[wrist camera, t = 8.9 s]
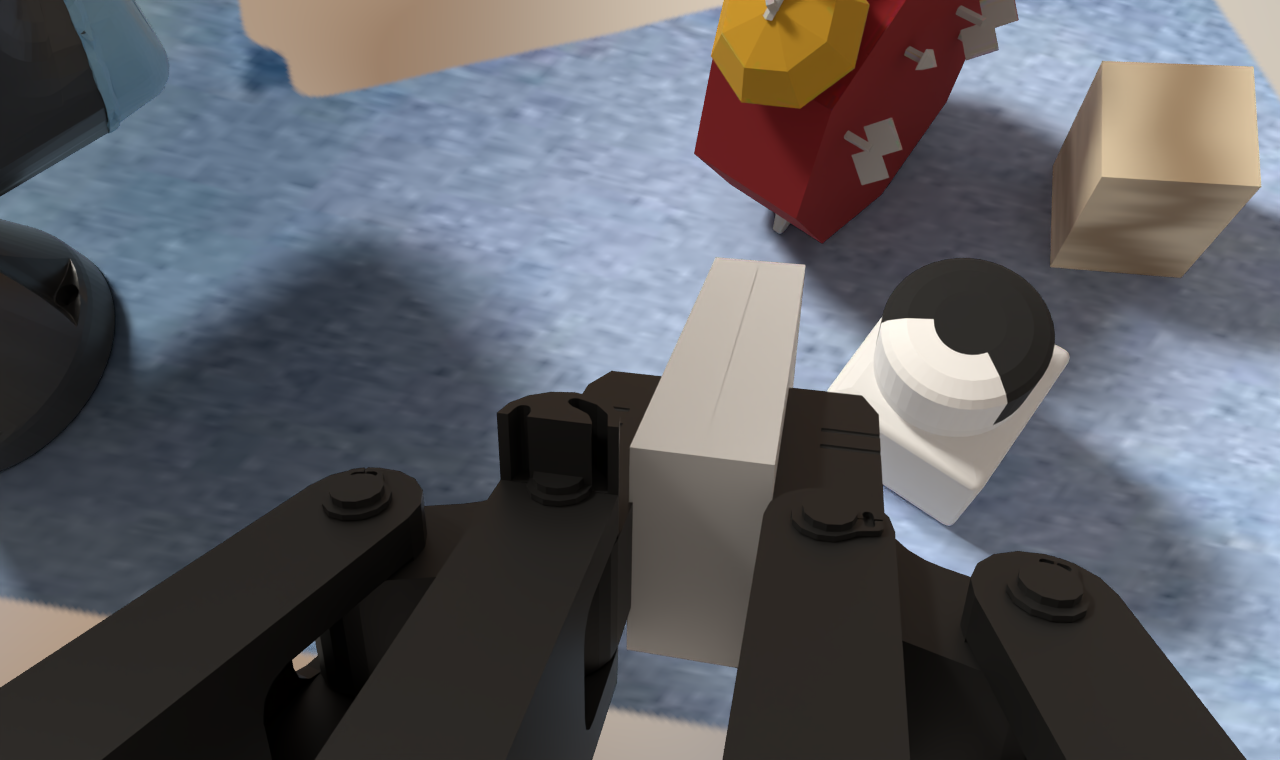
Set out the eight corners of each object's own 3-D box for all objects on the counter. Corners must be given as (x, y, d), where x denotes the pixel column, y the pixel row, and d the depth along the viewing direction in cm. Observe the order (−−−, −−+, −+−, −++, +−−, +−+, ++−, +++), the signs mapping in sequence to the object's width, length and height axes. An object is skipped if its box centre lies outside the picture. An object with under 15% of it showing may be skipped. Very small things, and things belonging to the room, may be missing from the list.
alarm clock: (870, 50, 51) (917, -332, 33) (1003, 122, 48) (1138, -253, 30) (704, 232, 49) (653, -71, 30) (834, 321, 46) (866, 44, 27)
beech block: (1050, 267, 45) (1101, 176, 37) (1052, 166, 47) (1102, 61, 39) (1180, 278, 44) (1260, 186, 36) (1178, 173, 46) (1253, 66, 38)
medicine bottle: (899, 332, 45) (936, 203, 34) (1031, 410, 42) (1117, 298, 31) (817, 443, 43) (828, 346, 32) (949, 530, 41) (1009, 457, 30)
